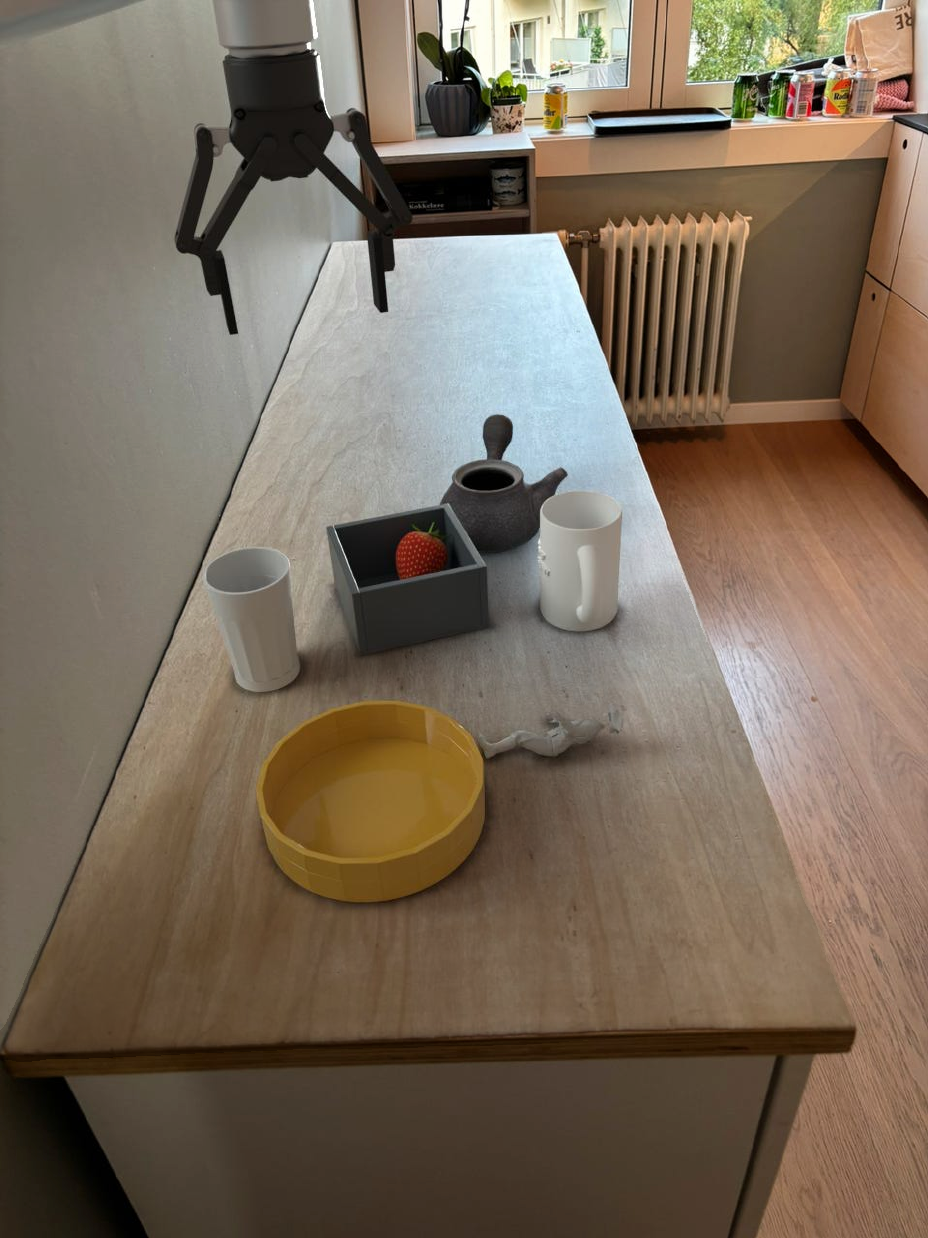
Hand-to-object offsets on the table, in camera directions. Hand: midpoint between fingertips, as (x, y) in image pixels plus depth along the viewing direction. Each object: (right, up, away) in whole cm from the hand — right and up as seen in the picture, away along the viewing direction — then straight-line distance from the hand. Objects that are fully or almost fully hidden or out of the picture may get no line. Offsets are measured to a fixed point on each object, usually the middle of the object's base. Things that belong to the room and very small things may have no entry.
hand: (308, 318), depth 89 cm
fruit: (+8, -25, +16) cm, 30 cm away
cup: (-5, -33, +8) cm, 34 cm away
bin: (+8, -26, +16) cm, 31 cm away
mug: (+26, -28, +13) cm, 40 cm away
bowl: (+7, -43, -8) cm, 44 cm away
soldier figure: (+22, -39, -3) cm, 45 cm away
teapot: (+19, -15, +30) cm, 39 cm away
